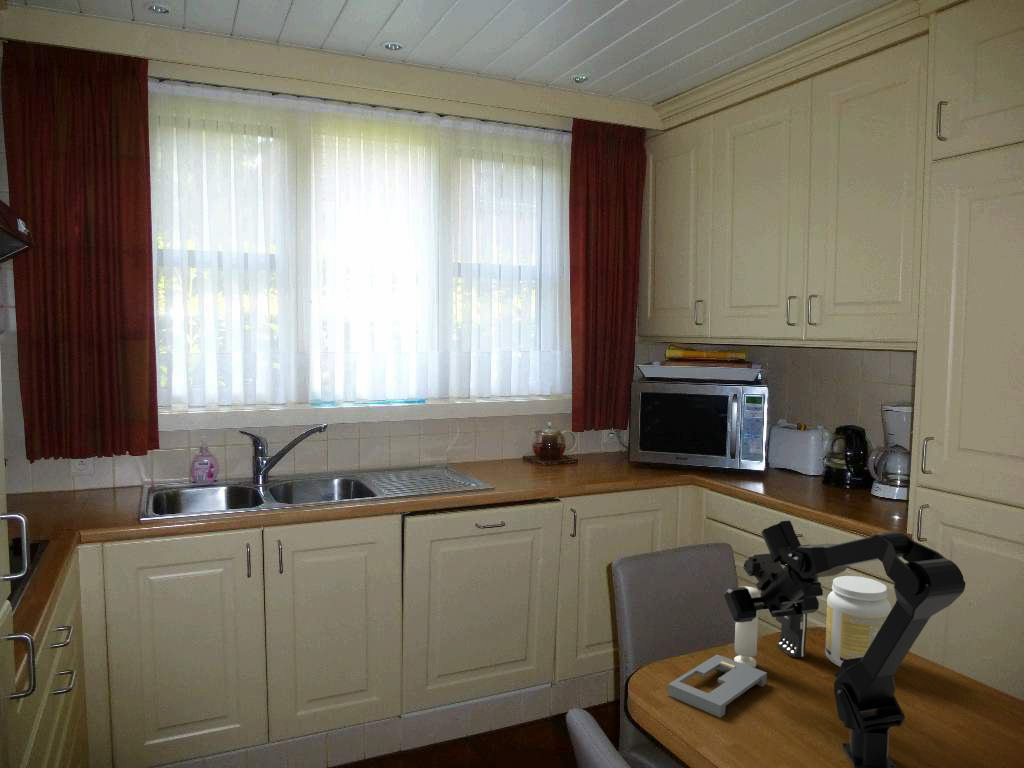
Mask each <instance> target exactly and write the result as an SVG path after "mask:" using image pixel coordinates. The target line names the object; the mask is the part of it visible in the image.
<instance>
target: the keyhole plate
mask: <svg viewBox="0 0 1024 768" xmlns="http://www.w3.org/2000/svg"><path fill="white" fill-rule="evenodd" d="M716 669H717V671H719V670H720V671H719V672H722V673H724V672H725V673H724V674H722V675H721V676H719V677H718V678H717V683H718V684H720V685H718V686H717V687H715V688H714V689H713V690H712V691H710V692H705V691H703V690H701V689H698V688H696V687H693V686H692V685H688V684H686V683H684V682H685V681H687V680H689V679H690V678H692V677H693V676H695V675H699V676H701V677H703V678H705V677H706V676H708V675H709V674H710V673H712V672H714V671H715V670H716ZM767 676H768V672H766V671H763V670H760V669H759V668H756V667H755V668H753V667H750V666H747V665H745V664H742V663H739V662H736V661H734V659H731V658H728V657H725V656H723V655H719V654H715V655H713V656H712V657H710V658H709V659H707V660H705V661H704V662H702V663H701V664H699V665H698V666H696V667H694V668H693V669H691V670H689V671H687V672H686V673H684V674H682V675H681V676H680V677H677V678H676V679H674V680H673V681H671V682H670V683H668V694H667V696H668V697H670V698H674V699H675V700H677V701H679V702H683V703H685V704H687V705H689V706H692V707H694V708H696V709H699V710H701V711H703V712H706V713H708V714H710V715H713V716H715V717H716V718H720V719H721V718H722V717H723V716H725V715H726V706H727V705H729V704H730V703H731V702H733V701H734V700H735V699H737V698H738V697H740V696H741V695H742V694H744V693H745V692H747V691H748V690H749V689H750V688H752V687H754V686H756V684H757V686H759V685H760V686H759V687H761V686H763V687H764V686H765V685H767V678H768V677H767Z"/></svg>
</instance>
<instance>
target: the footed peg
mask: <svg viewBox="0 0 1024 768" xmlns="http://www.w3.org/2000/svg"><path fill="white" fill-rule="evenodd" d="M740 587H746V588H747V589H748V590H749V593H750V595H751V598H756V597H760V590H758V588H757V587H752V586H747V585H746V586H745V585H744V586H740ZM758 622H759V611H757V616H756V618H754V619H752V621H748V622H735V627H734V628H735V630H734V653H736V654H737V656H735V657H734V658H733V660H734V661H736V662H739V663H742V664H745V665H747V666H750V667H753V668H756V667H757V660H756V659H755V658H754V657H755V656H756V655H757V652H758V651H757V650H758V630H759V629H758V627H759V625H758Z"/></svg>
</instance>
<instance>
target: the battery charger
mask: <svg viewBox="0 0 1024 768" xmlns="http://www.w3.org/2000/svg"><path fill="white" fill-rule="evenodd" d="M775 621H777V623H780V625H781V629H780V630H781V631H780V636H779V639H778V641H777V644H776V645H777V647H778V648H779V649H780V650H781V651H782V652H783V653H785V654H787V655H788V656H789V657H791V658H803V657H806V640H807V626H808V613H807V614H802V615H794V616H782V617H775Z"/></svg>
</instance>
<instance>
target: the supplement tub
mask: <svg viewBox="0 0 1024 768" xmlns="http://www.w3.org/2000/svg"><path fill="white" fill-rule="evenodd" d="M887 588H888V587H887V586H886V585H885V584H884V583H882V582H880V581H879V580H875V579H872V578H868V577H863V576H858V575H844V576H843V575H841V576H838V577H835V578H833V580H832V586H831V589H832V591H830V593H829V594H828V595H827V599H826V601H827V603H826V624H825V625H826V627H825V631H826V632H825V648H824V650H825V656H826V658H827V659H828V660H829V661H830V662H831V663H833V665H836V666H837V667H839V668H840V667H841V664H842V662H843V661H844V660H846V659H852V658H859V657H863V656H864V655H865V653H866V651H867V650H868V648H869V646H870V645H871V643H872V641H873V640H874V638H875V636H876V635H877V633H878V631H879V630H880V628H881V626H882V625H883V623H884V621H885V619H886V618H887V616H888V614H889V613H890V611H891V609H892V608H891V607H892V605H891V603H890V601H889V600H888V599H887V598H888V592H887V591H888V589H887Z"/></svg>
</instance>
